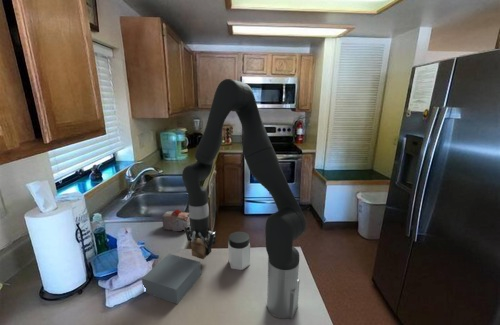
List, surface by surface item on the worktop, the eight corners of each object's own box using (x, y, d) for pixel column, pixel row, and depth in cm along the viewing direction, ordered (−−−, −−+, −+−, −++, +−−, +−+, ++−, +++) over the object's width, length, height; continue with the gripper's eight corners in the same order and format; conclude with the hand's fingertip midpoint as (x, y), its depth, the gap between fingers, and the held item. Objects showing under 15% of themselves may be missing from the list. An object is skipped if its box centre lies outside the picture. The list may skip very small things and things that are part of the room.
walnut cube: (211, 251, 95) (210, 239, 94) (203, 259, 91) (202, 246, 89) (200, 248, 98) (199, 236, 96) (191, 255, 93) (191, 243, 92)
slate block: (200, 275, 88) (200, 261, 87) (177, 304, 76) (176, 289, 74) (170, 266, 93) (169, 253, 92) (143, 292, 80) (141, 278, 79)
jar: (227, 258, 98) (226, 232, 95) (245, 254, 100) (245, 229, 97) (231, 272, 90) (231, 245, 86) (252, 268, 92) (252, 241, 89)
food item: (193, 225, 123) (192, 208, 121) (187, 233, 116) (186, 215, 113) (168, 223, 125) (166, 206, 122) (161, 231, 117) (159, 213, 115)
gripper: (220, 213, 90) (221, 251, 94) (190, 206, 96) (193, 243, 100) (208, 222, 84) (211, 263, 88) (177, 214, 90) (181, 252, 94)
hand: (201, 252), depth 94 cm, fingers closed on walnut cube, 5 cm apart
